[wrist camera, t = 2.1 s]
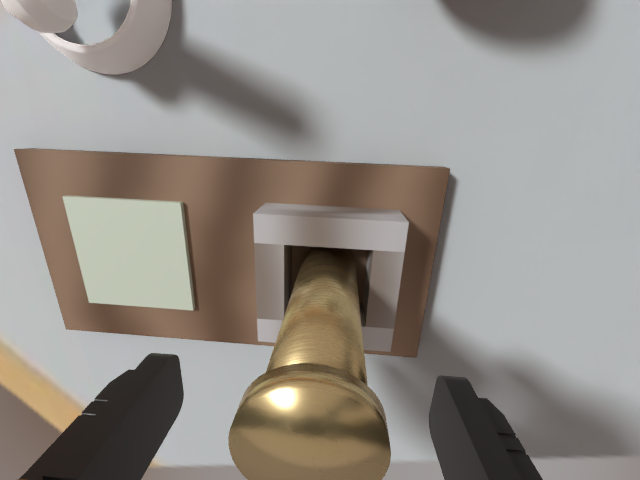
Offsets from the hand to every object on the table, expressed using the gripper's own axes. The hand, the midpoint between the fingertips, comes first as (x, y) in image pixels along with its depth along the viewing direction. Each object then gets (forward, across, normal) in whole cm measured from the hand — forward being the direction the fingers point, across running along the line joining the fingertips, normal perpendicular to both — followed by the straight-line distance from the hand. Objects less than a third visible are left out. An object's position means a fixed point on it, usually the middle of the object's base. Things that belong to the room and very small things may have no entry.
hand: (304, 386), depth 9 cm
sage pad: (+9, +12, 0) cm, 15 cm away
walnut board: (+10, +6, 0) cm, 12 cm away
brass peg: (+9, 0, 0) cm, 9 cm away
